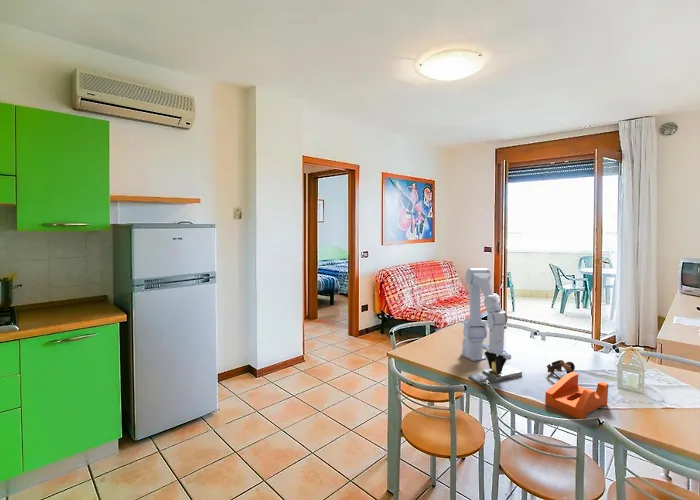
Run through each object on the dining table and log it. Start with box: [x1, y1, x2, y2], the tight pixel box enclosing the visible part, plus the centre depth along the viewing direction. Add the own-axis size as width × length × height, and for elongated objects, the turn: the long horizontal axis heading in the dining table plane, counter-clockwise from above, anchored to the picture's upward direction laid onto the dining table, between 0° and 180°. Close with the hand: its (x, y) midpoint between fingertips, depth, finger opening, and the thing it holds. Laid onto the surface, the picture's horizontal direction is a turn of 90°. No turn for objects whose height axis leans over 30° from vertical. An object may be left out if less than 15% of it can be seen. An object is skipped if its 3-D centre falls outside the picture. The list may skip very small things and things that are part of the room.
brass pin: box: [491, 360, 499, 375], centre depth 160 cm, size 3×3×7 cm
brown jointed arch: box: [546, 359, 576, 375], centre depth 160 cm, size 12×10×8 cm
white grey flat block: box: [468, 364, 523, 386], centre depth 161 cm, size 22×8×2 cm, turn 113°
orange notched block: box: [544, 371, 609, 420], centre depth 137 cm, size 18×13×8 cm
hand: (495, 370), depth 160 cm, fingers open, 3 cm apart
